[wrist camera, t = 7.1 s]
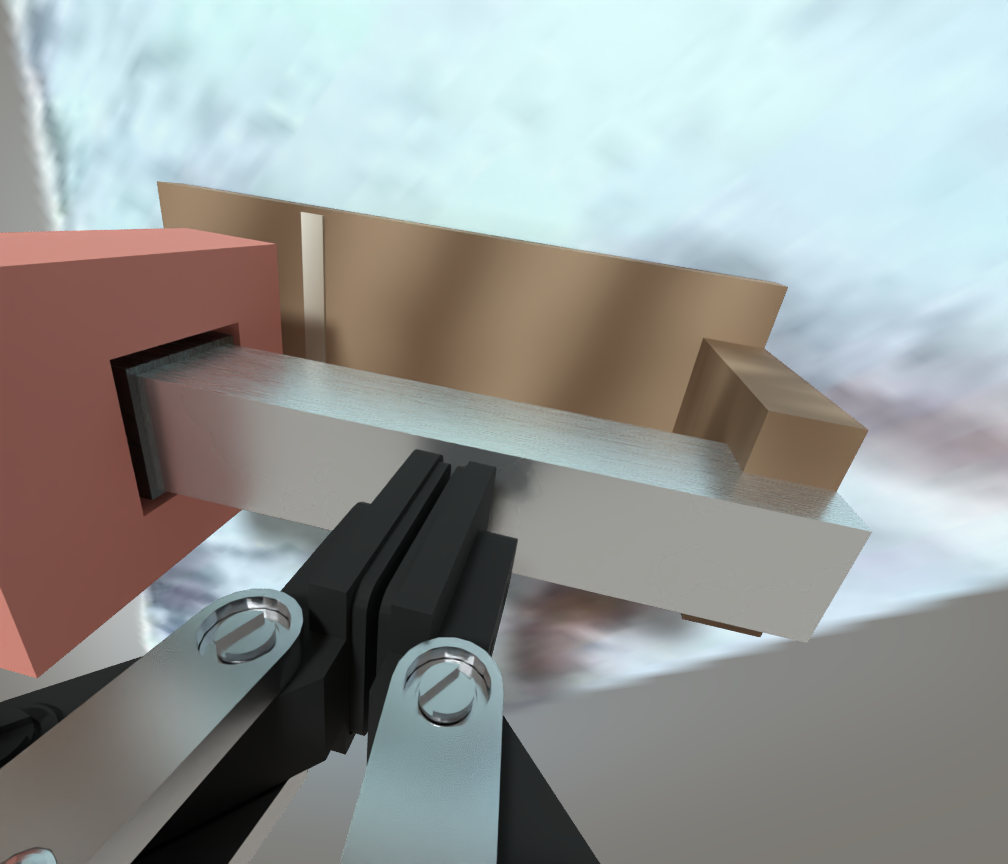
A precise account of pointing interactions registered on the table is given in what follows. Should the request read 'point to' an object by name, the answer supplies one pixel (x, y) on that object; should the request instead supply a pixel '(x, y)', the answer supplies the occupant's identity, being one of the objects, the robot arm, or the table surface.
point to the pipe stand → (540, 328)
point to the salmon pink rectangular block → (101, 416)
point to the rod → (518, 483)
